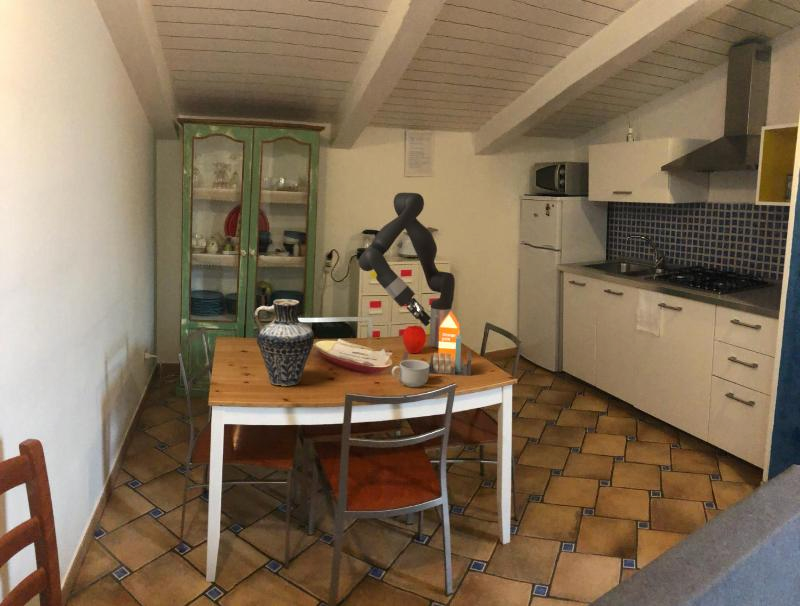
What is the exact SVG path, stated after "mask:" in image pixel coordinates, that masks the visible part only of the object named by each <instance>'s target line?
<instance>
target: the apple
mask: <svg viewBox="0 0 800 606" xmlns="http://www.w3.org/2000/svg"><path fill="white" fill-rule="evenodd" d="M426 340H427V335H426V331H425V329H424V328H423V327H422V326H421V325H416V324H415V325H409V326H407V327H406V328H405V329H404V331H403V334H402V341H403V345H404V348H405V349H406V352H407V353H409V354H418V353H420V352H421V351H422V349H423V348H424V346H425V345H426Z"/></svg>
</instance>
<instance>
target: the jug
mask: <svg viewBox="0 0 800 606" xmlns="http://www.w3.org/2000/svg"><path fill="white" fill-rule="evenodd" d="M299 304H300V301H299V300H296V299H288V298H282V299H275V300H273V304H272V305H271V306H266V305H261V306H259V307H258V308H256V309H255V311H254V315H253V316H254V317H253V318H254V320H255V322H256V326H257V331H256V343H257V345H258V348H259V351H260V353H261V357H262V359H263V362H264V366H265V368H266V371H267V374H268V379H269V383H270V384H272V385H275V386H278V385H281V387H287V386H294V385H298V383H300V381H301V378H302V375H303V372H304V371H305V367H306V364H307V361H308V359H309V357H310V354H311V351H312V349H313V347H314V341H315V335H314V331H313V330H312V328H311V327H310V326H309V325H307V324H305V323H304V322H302V321H300V319H299V318H298V309H299ZM262 311H263V312H264V311H265V312H268V313H271V314H273V316H274V317H273V320H272V321H271V322H268V323H267V324H264V325H262V323H261V320H260V313H261V312H262Z"/></svg>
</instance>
